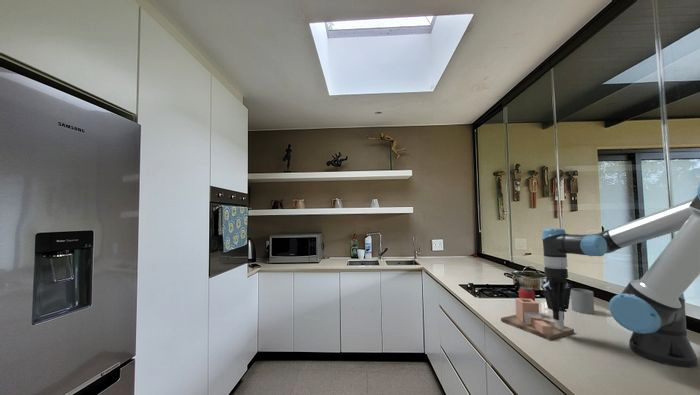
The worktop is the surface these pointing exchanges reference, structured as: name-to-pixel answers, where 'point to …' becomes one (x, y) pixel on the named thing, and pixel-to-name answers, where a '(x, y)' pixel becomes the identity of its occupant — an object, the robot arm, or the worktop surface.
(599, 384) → the worktop surface
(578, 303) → the cup
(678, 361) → the robot arm
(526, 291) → the beer can
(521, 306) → the link
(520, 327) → the board
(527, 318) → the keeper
